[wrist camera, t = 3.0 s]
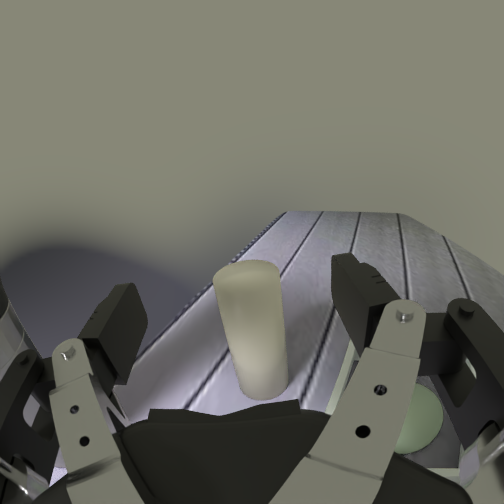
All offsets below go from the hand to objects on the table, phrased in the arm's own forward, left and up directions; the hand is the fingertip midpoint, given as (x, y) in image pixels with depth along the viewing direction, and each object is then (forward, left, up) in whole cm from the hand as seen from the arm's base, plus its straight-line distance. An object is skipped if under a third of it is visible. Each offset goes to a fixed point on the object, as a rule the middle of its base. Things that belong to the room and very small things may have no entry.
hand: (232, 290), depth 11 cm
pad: (+10, +9, -20) cm, 24 cm away
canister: (-6, +10, -20) cm, 23 cm away
